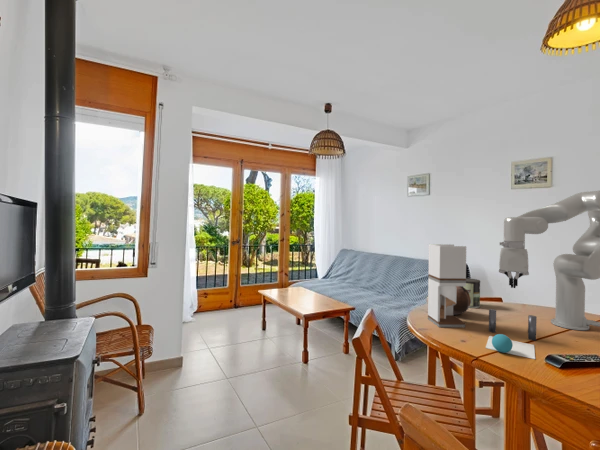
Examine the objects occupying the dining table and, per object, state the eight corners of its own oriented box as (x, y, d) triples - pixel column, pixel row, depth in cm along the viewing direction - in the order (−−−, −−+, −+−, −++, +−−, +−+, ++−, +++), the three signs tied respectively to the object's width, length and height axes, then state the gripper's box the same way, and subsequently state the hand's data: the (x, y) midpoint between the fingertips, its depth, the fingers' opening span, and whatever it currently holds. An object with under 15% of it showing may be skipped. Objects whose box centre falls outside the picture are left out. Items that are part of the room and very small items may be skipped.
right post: (536, 339, 115) (536, 316, 115) (536, 341, 113) (536, 317, 113) (527, 337, 117) (528, 314, 116) (528, 339, 115) (528, 316, 114)
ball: (512, 355, 103) (513, 338, 105) (511, 353, 98) (513, 335, 100) (491, 350, 106) (493, 333, 108) (490, 348, 102) (492, 330, 104)
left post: (496, 331, 123) (496, 309, 123) (495, 333, 121) (496, 311, 121) (489, 329, 124) (489, 308, 124) (488, 331, 122) (488, 310, 122)
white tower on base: (438, 327, 127) (440, 246, 127) (427, 319, 138) (428, 244, 137) (465, 327, 127) (466, 246, 127) (452, 319, 138) (453, 244, 137)
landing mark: (534, 345, 109) (534, 344, 109) (535, 359, 98) (535, 358, 98) (489, 336, 117) (489, 335, 117) (485, 348, 106) (485, 347, 106)
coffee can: (475, 303, 165) (476, 278, 165) (483, 308, 155) (483, 282, 155) (455, 302, 167) (456, 277, 167) (461, 307, 157) (462, 281, 157)
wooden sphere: (429, 311, 150) (430, 281, 150) (450, 308, 156) (451, 279, 156) (455, 320, 136) (456, 288, 136) (477, 316, 142) (478, 285, 142)
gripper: (492, 245, 130) (492, 286, 130) (536, 247, 121) (535, 291, 121) (494, 244, 136) (493, 283, 136) (535, 245, 127) (534, 288, 127)
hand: (513, 287), depth 129 cm, fingers closed
